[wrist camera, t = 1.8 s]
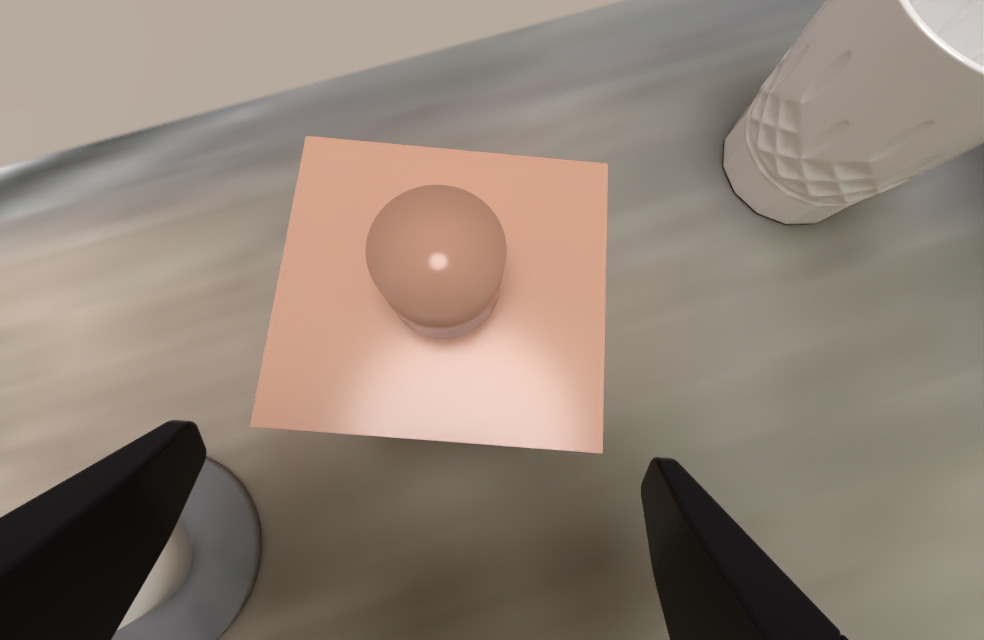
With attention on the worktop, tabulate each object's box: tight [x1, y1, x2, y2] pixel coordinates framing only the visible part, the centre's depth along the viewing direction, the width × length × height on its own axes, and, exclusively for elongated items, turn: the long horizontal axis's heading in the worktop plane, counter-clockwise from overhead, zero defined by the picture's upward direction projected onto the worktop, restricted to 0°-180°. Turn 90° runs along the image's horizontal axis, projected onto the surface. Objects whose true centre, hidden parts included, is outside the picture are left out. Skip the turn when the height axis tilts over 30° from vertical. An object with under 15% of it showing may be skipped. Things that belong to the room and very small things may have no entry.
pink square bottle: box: [250, 136, 608, 453], centre depth 14 cm, size 6×7×13 cm
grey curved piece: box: [112, 457, 261, 640], centre depth 17 cm, size 8×8×1 cm
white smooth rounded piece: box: [117, 522, 193, 630], centre depth 16 cm, size 3×3×2 cm
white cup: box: [723, 0, 984, 224], centre depth 18 cm, size 8×8×10 cm
